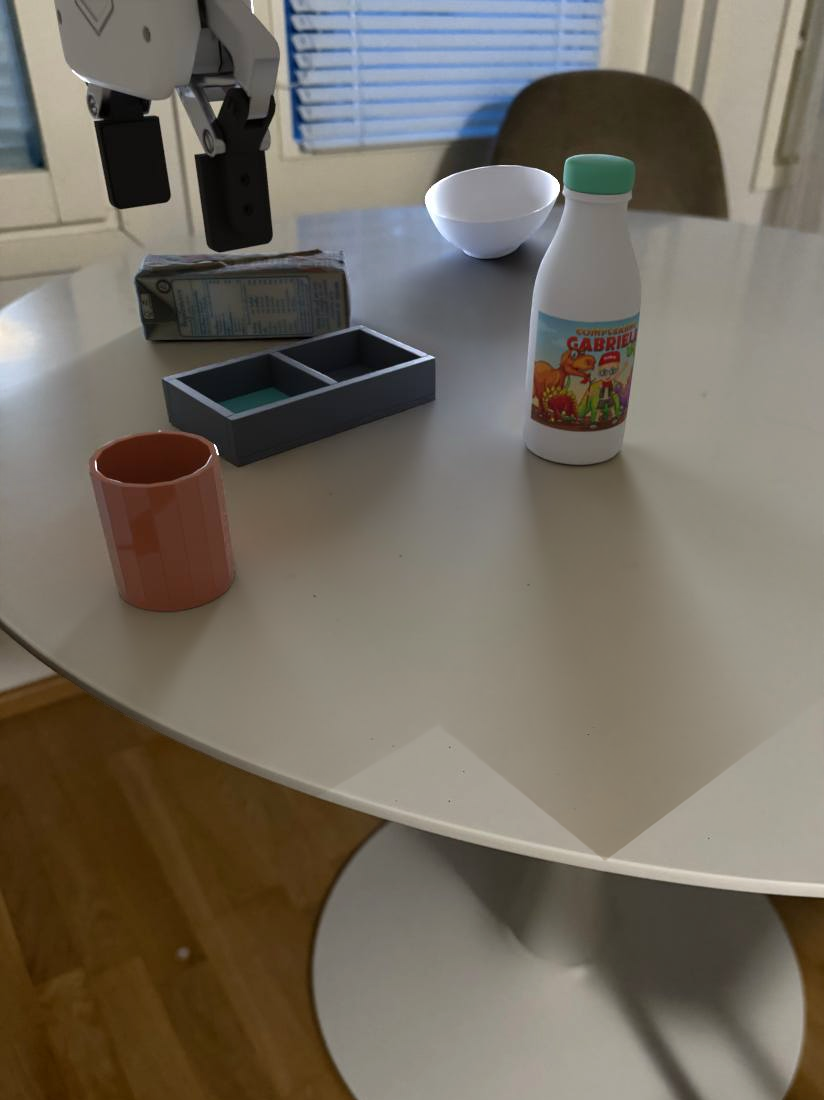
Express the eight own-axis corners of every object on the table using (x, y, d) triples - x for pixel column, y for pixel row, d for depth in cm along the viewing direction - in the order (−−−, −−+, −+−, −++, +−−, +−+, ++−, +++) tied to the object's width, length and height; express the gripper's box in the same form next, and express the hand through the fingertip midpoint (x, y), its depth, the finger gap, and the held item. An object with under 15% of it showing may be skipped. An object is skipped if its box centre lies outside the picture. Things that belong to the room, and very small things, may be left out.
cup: (97, 575, 57) (66, 453, 52) (198, 537, 61) (178, 420, 56) (153, 626, 53) (125, 500, 49) (256, 582, 57) (241, 461, 52)
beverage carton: (154, 314, 94) (142, 244, 90) (351, 312, 96) (348, 244, 92) (142, 343, 87) (129, 269, 83) (354, 341, 90) (350, 268, 86)
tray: (168, 422, 74) (161, 377, 72) (362, 364, 85) (360, 324, 83) (237, 467, 69) (231, 420, 67) (435, 399, 79) (435, 357, 77)
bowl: (461, 210, 130) (462, 161, 127) (570, 220, 128) (574, 170, 124) (399, 272, 107) (398, 215, 103) (530, 286, 105) (534, 227, 101)
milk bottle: (501, 439, 74) (516, 154, 62) (572, 415, 78) (599, 143, 66) (571, 477, 69) (601, 177, 57) (643, 449, 73) (686, 164, 61)
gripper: (-62, -243, 40) (41, 200, 50) (131, -283, 30) (210, 281, 40) (110, -224, 44) (172, 182, 54) (331, -253, 34) (355, 251, 44)
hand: (188, 224), depth 47 cm, fingers open, 9 cm apart
